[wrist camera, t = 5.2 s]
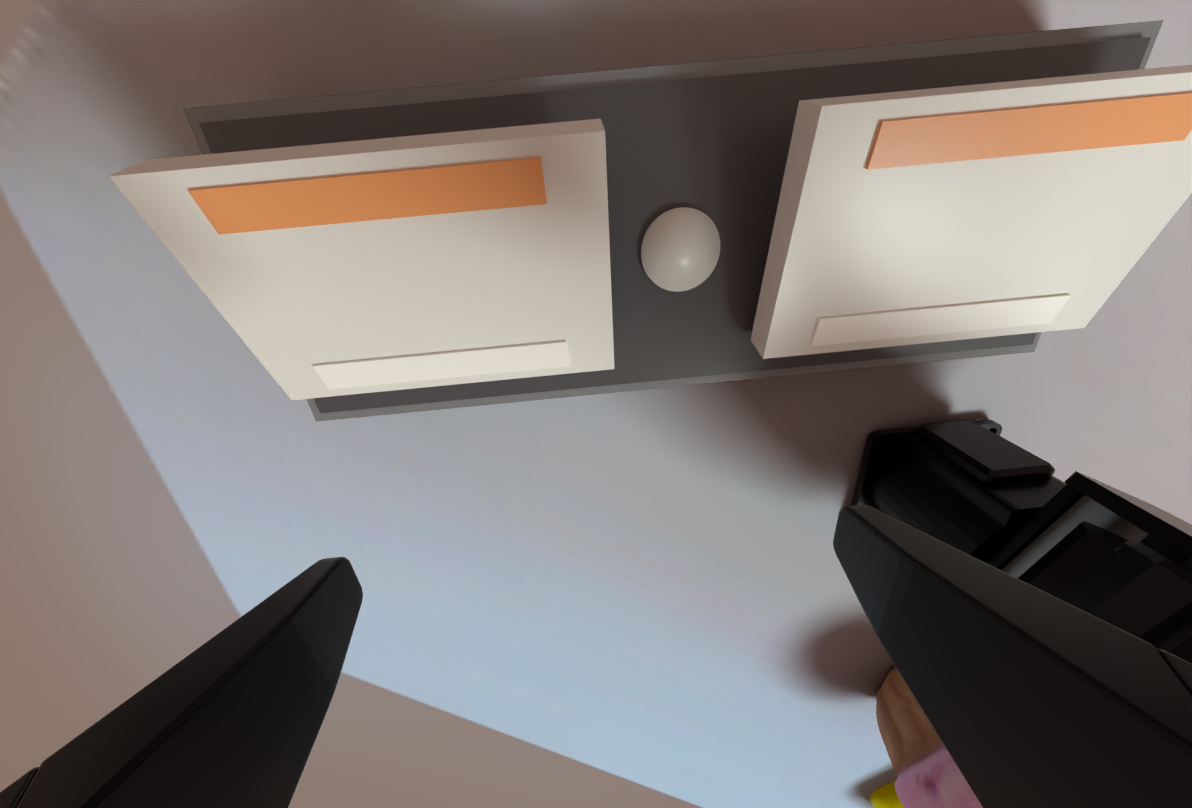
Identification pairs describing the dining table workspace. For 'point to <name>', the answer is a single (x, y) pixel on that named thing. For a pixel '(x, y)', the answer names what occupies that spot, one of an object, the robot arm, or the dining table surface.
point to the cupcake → (918, 752)
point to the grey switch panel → (677, 188)
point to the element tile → (885, 797)
